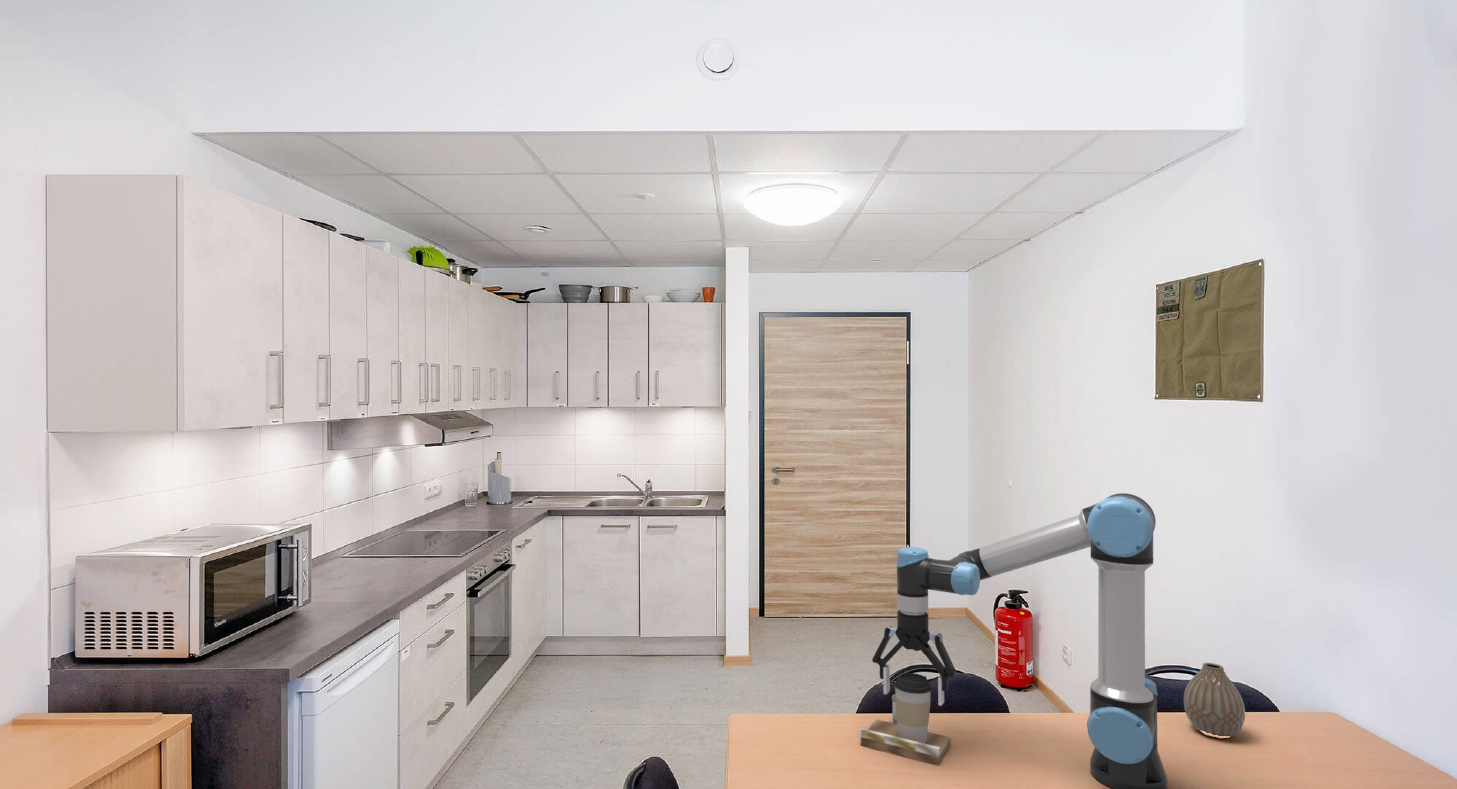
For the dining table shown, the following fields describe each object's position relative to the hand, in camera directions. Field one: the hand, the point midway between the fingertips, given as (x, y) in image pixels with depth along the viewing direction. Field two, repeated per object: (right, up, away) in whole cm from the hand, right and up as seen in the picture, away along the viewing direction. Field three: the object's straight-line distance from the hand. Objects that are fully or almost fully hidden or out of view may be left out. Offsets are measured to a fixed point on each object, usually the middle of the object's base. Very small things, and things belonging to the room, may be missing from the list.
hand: (913, 698), depth 171 cm
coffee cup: (0, -10, 0) cm, 10 cm away
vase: (+81, -13, +9) cm, 82 cm away
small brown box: (-2, -12, 0) cm, 12 cm away
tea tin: (0, -12, +12) cm, 17 cm away
